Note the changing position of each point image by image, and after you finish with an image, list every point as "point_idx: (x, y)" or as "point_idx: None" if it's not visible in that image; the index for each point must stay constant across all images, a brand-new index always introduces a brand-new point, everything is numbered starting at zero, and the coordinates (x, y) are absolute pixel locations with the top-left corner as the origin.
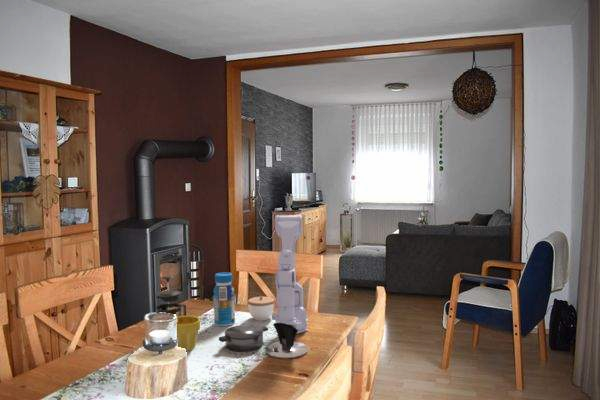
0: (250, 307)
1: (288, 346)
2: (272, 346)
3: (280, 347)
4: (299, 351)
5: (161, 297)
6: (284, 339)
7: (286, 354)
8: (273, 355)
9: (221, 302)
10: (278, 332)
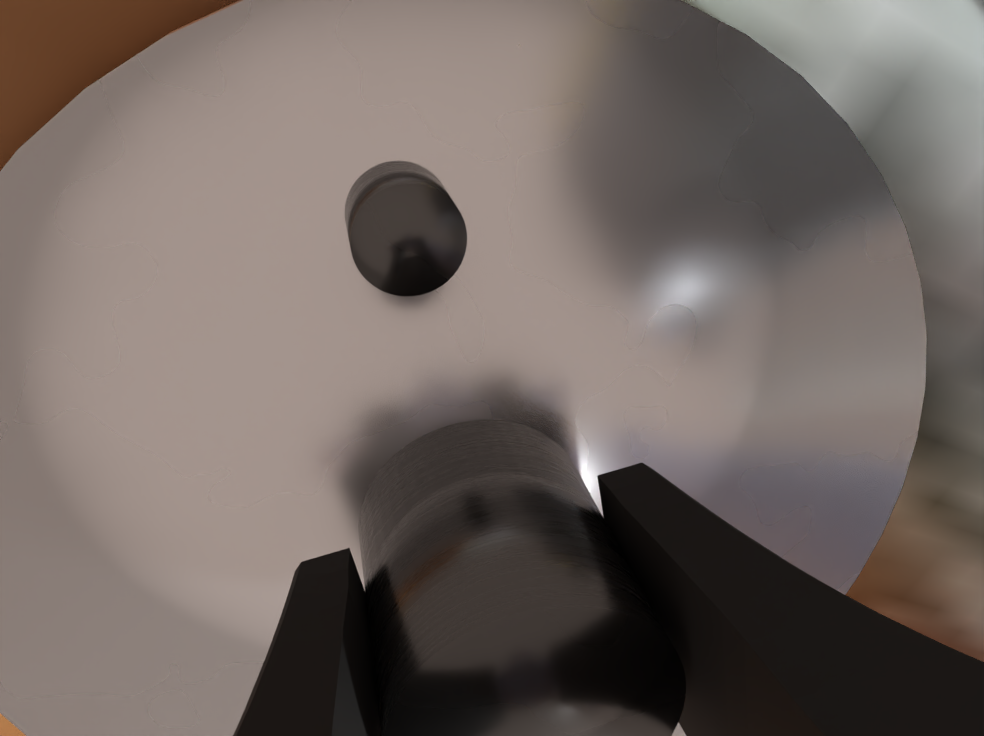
0: None
1: (290, 588)
2: (762, 260)
3: (589, 410)
4: (141, 697)
5: None
6: (448, 654)
7: (30, 397)
8: (161, 38)
9: None
10: (830, 682)
